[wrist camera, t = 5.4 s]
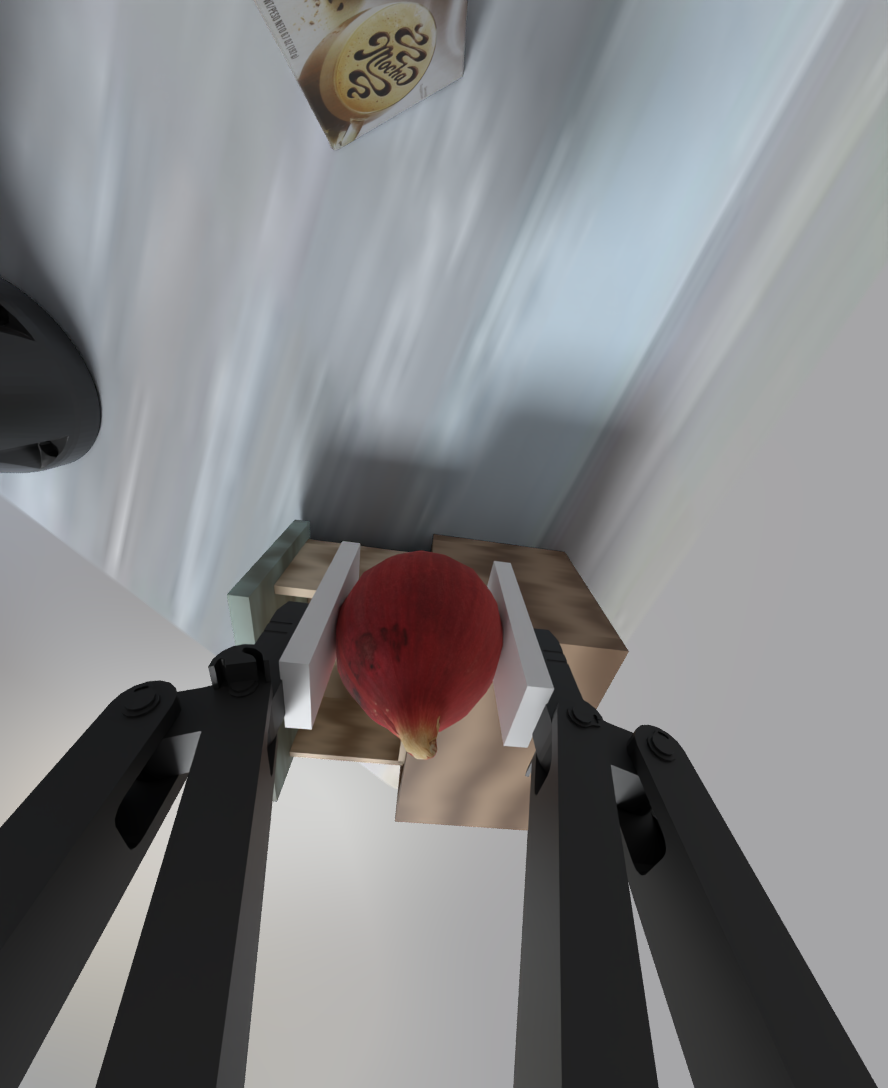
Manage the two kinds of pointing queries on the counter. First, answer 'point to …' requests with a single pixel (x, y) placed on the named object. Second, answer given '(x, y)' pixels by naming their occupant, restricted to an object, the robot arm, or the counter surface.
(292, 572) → the drawer
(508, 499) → the counter surface
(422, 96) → the coffee box
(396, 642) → the onion
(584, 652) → the cabinet
